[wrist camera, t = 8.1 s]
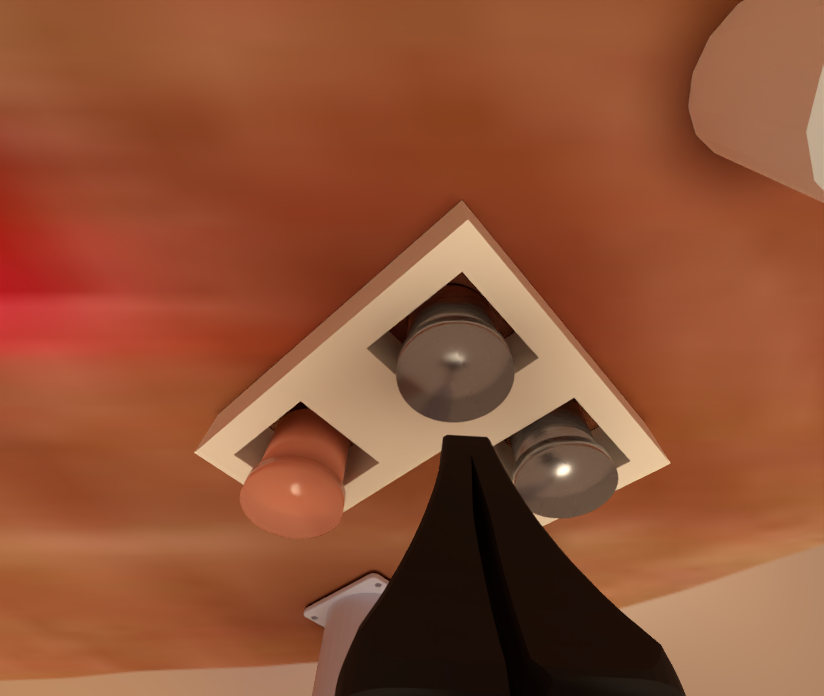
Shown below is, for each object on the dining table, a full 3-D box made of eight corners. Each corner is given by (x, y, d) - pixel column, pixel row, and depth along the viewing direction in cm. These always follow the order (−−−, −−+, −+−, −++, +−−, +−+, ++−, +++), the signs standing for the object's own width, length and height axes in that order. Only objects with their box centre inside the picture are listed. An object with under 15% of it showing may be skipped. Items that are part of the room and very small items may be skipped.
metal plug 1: (517, 328, 21) (538, 382, 17) (443, 379, 23) (447, 439, 19) (456, 258, 19) (464, 301, 15) (381, 320, 21) (371, 372, 17)
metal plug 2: (603, 425, 24) (637, 489, 20) (532, 464, 26) (550, 530, 22) (557, 372, 22) (584, 431, 18) (484, 418, 24) (495, 481, 20)
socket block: (644, 422, 24) (670, 463, 22) (409, 549, 31) (408, 591, 28) (461, 200, 18) (467, 219, 16) (218, 414, 25) (194, 452, 22)
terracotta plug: (374, 441, 23) (364, 510, 20) (317, 480, 25) (297, 550, 21) (308, 388, 22) (284, 453, 18) (252, 434, 23) (219, 502, 20)
